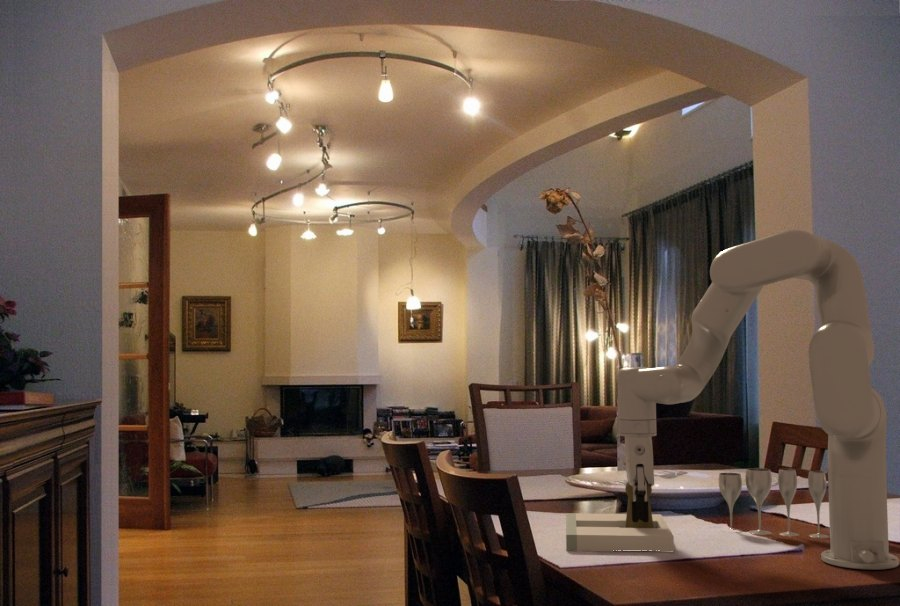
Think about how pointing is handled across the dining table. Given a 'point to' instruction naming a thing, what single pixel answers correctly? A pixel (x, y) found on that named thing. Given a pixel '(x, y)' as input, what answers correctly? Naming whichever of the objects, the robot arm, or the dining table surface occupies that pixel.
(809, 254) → the robot arm
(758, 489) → the goblet set
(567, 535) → the beige flat rimmed tray
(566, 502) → the dining table surface
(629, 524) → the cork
